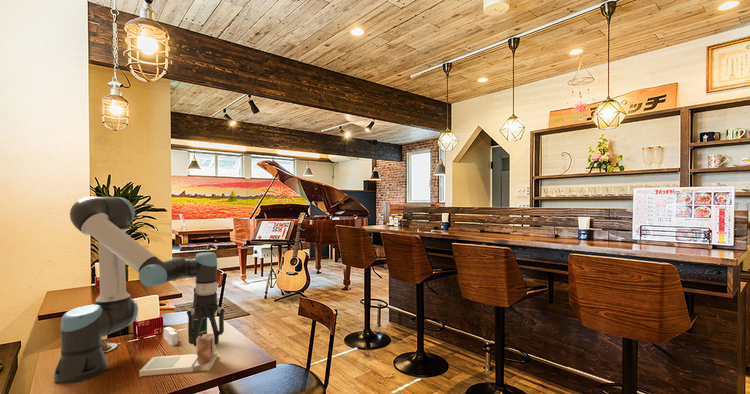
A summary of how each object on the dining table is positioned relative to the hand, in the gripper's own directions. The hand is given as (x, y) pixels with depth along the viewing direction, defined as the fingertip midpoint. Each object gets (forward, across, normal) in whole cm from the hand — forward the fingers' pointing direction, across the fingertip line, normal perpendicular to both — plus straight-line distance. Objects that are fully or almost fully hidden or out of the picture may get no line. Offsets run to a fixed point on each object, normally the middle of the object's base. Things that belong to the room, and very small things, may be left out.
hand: (206, 353), depth 141 cm
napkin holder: (+5, -22, +27) cm, 35 cm away
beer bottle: (+4, -10, +26) cm, 28 cm away
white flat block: (+4, -12, 0) cm, 13 cm away
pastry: (+5, -48, +24) cm, 54 cm away
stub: (+4, 0, 0) cm, 4 cm away
